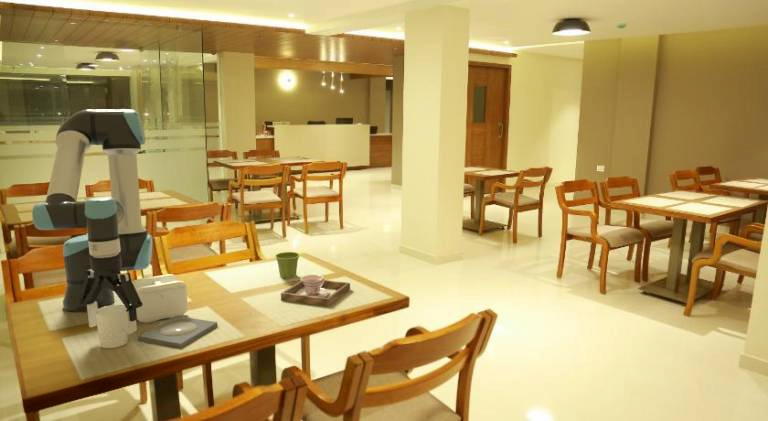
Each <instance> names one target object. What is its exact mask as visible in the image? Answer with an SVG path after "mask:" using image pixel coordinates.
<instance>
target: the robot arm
mask: <svg viewBox="0 0 768 421" xmlns="http://www.w3.org/2000/svg"><path fill="white" fill-rule="evenodd" d="M54 141H55V145H56V147H57V148H56V152H55V153H56V154H55V156H54V157H55V158H54V161H53V167H52V171H51V175H50V179H49V184H48V189H47V194H46V198H45V202H44V201H43V202H38V203H36V204H34V206H33V208H32V211H31V216H32V222H33V225H34V227H35V228H36V230H41V231H55V230H56V231H57V230H68V229H69V230H70V229H81V228H82V229H86V232H87V234H83V235H77V236H75V237H72V238H70V239H68V240H66V241H65V242H64V243H63V246H62V249H63V250H62V251H63V252H62V257H63V263H64V271H65V280H66V288H65V292H64V297H63V300H62V306H63V309H64V310H65V311H66V312H67V311H68V312H77V313H78V312H86V314H87V318H88V327H89V328H93V327H96V326H97V322H96V315H95V311H96V310H98V309H100V308H102V307H105V306H110V305H112V304H113V303H114V302H115V294H116V295H117V297H118V299H119V300H120V301H121V303H122V305H124V306H125V307H126V308H127V310H125V318H126V329H127V334H128V335H129V334H131V333H134V332H135V331H137V330H138V329H137V328H138V326H137V320H138V319H137V312H136V309H137V308H138V307H141V306H142V302H141V300H140V298H139V296H138V294H137V291H136V289H135V287H134V285H133V283H132V281H133V280H132V277H131V273H130V272H128V271H133V272H136V271H139V270H145V269H147V268H148V267H149V266H150V264H151V261H152V254H153V236H152V235H151V234H148V230H147V229H146V227H144V226H143V224H142V212H141V200H140V199H141V198H140V185H139V173H138V157H137V156H138V154H139V153H140V152H141V150H142V145H145V144H146V135H145V129H144V126H143V121H142V118H141V115H140V113H139V112H138V111H137V110H135V109H126V108H115V109H109V108H108V109H107V108H106V109H105V108H104V109H102V108H101V109H91V108H90V109H89V108H88V109H87V108H86V109H83V110H80V111H77V112H76V113H74V114H72V115H71V116H69V117H68V118H67V119H65V121H63V123H62V124H61V125H60V127H59V128H58V130H57V133H56V136H55V140H54ZM91 146H102V147H101V148H102V151H103V153H104V154H106V155H107V160H108V170H109V171H108V172H109V184H110V196H98V197H97V196H95V197H91V198H90V197H89V198H87V199H86V200H85V201H81V200H80V201H78V195H79V189H80V183H81V178H82V172H83V165H84V161H85V155H86V153H87V152H88V151H89V150H90V148H91ZM121 272H124V273H121Z"/></svg>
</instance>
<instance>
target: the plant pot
mask: <svg viewBox="0 0 768 421" xmlns="http://www.w3.org/2000/svg"><path fill="white" fill-rule="evenodd" d="M274 256H275V258H276V261H277V264H278V273H279V277H280V278H281V279H284V280H285V279H294V278H295V277H296V276H297V269H298V261H299V258H300V256H301V255H300V253H298V252H296V251H295V252H294V251H285V252H284V251H283V252H279V253H277V254H275V255H274Z"/></svg>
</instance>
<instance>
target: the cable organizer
mask: <svg viewBox="0 0 768 421" xmlns="http://www.w3.org/2000/svg"><path fill="white" fill-rule="evenodd" d="M131 281H132V283H133V285H134V287H135V289H136V291H137V294H138V296H139V298H140V300H141V302H142V306H141V307H138V308H137V309H136V312H137V320H138V321H139V322H141V323H153V322H157V321H158V320H164V319H172V318H174V317H176V316H182V315H183V316H184V314H186V313H187V312H188V310H189V307H188V306H189V304H188V290H187V285H186V283H185V282H184V281H182V280H178V278H177V276H176V275H175V274H172V273H170V274H169V273H167V274H163V275H162V274H161V275H155V276H150V277H149V276H148V277H143V278H137V279H134V280H131Z"/></svg>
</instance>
